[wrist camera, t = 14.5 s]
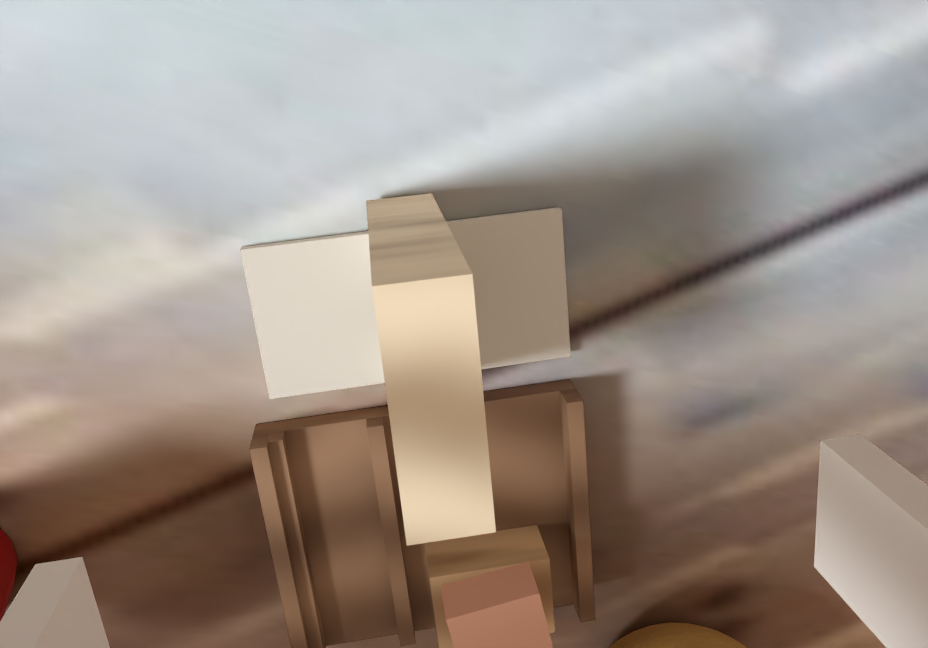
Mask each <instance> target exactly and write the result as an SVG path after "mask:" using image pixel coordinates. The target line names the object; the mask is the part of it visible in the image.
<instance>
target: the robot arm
mask: <svg viewBox="0 0 928 648" xmlns="http://www.w3.org/2000/svg"><path fill="white" fill-rule="evenodd" d="M814 567H815V568H816V569H817V571H818V572H819V573H820V574H821V575H822V576H823V577H824V578H825V580H826V581H827V582H828V583H829V584H830V585H831V586H832V587H833V589H834V590H835V591H836V592H837V593H838V594H839V595H840V596H841V598H842V599H843V600H844V601H845V602H846V603H847V604H848V605H849V607H850V608H851V609H852V610H853V611H854V612H855V613H856V614H857V615H858V617H859V618H860V619H861V620H862V621H863V622H864V623H865V624H866V626H867V627H868V628H869V629H870V630H871V631H872V632H873V633H874V635H875V636H876V637H877V638H878V639H879V640H880V641H881V642H882V644H883V645H884V646H885V647H886V648H928V485H926V484H925V483H924V482H923V481H921V480H920V479H919V478H917V477H916V476H915V475H913V474H912V473H911V472H909V471H908V470H907V469H905V468H904V467H903V466H901V465H900V464H899V463H897V462H896V461H895V460H894V459H892V458H891V457H890V456H888V455H887V454H886V453H884V452H883V451H882V450H880V449H879V448H878V447H876V446H875V445H874V444H872V443H871V442H870V441H869V440H867V439H866V438H865V437H863V436H862V435H861V434H857V435H850V436H844V437H838V438H831V439H825V440H820V459H819V479H818V498H817V518H816V537H815V557H814ZM0 648H110V647H109V643H108V640H107V637H106V633H105V630H104V627H103V623H102V620H101V617H100V614H99V610H98V607H97V604H96V600H95V597H94V594H93V590H92V587H91V584H90V581H89V577H88V574H87V571H86V567H85V564H84V561H83V557H78V558H72V559H65V560H59V561H53V562H46V563H40V564H35V566H34V567H33V569H32V570H31V572H30V574H29V575H28V577H27V579H26V580H25V582H24V584H23V585H22V587H21V588H20V590H19V592H18V593H17V595H16V597H15V598H14V600H13V601H12V603H11V605H10V606H9V608H8V610H7V611H6V613H5V615H4V616H3V618H2V619H1V621H0Z"/></svg>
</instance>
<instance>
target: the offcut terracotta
mask: <svg viewBox="0 0 928 648" xmlns="http://www.w3.org/2000/svg"><path fill="white" fill-rule="evenodd" d="M441 591H442V598H443V604H444V611H445V617H446V622H447V625H448V628H449V632H450V635H451V638H452V641H453V644H454V648H553V645H552V641H551V637H550V633H549V629H548V625H547V621H546V617H545V613H544V610H543V606H542V602H541V598H540V594H539V591H538V588H537V585H536V582H535V579H534V576H533V573H532V570H531V567H530V564H529V561H528V562H524V563H521V564H517V565H514V566H510V567H507V568H503V569H500V570H496V571H493V572H489V573H486V574H482V575H479V576H475V577H472V578H468V579H465V580H461V581H458V582H454V583H451V584H447V585H444V586H441Z"/></svg>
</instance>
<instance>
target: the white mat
mask: <svg viewBox="0 0 928 648" xmlns="http://www.w3.org/2000/svg"><path fill="white" fill-rule="evenodd" d="M446 222H447V224H448V226H449V228H450V230H451V232H452V234H453V236H454V238H455V240H456V242H457V244H458V246H459V248H460V250H461V252H462V254H463V256H464V258H465V260H466V262H467V264H468V266H469V268H470V270H471V272H472V274H473V285H474V296H475V307H476V318H477V329H478V340H479V351H480V362H481V369H486V368H493V367H500V366H507V365H515V364H522V363H529V362H536V361H543V360H550V359H557V358H564V357H571V353H570V336H569V319H568V303H567V286H566V269H565V253H564V236H563V219H562V209H561V208H559V207H556V208H548V209H540V210H532V211H524V212H516V213H508V214H500V215H492V216H484V217H476V218H468V219H460V220H452V221H446ZM240 252H241V257H242V262H243V267H244V272H245V277H246V282H247V287H248V292H249V297H250V302H251V307H252V312H253V317H254V323H255V328H256V333H257V338H258V343H259V348H260V353H261V358H262V363H263V368H264V373H265V378H266V383H267V388H268V393H269V398H270V399H274V398H281V397H288V396H295V395H302V394H309V393H317V392H324V391H331V390H338V389H345V388H352V387H359V386H366V385H373V384H380V383H385V381H384V373H383V366H382V359H381V351H380V344H379V336H378V329H377V322H376V314H375V307H374V299H373V292H372V282H371V266H370V250H369V234H368V231H364V232H356V233H348V234H340V235H333V236H325V237H317V238H309V239H301V240H293V241H285V242H277V243H269V244H261V245H253V246H245V247H242V248H241V249H240Z"/></svg>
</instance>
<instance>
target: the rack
mask: <svg viewBox="0 0 928 648" xmlns="http://www.w3.org/2000/svg"><path fill="white" fill-rule="evenodd" d="M483 395H484V406H485V417H486V428H487V439H488V450H489V461H490V472H491V483H492V494H493V505H494V516H495V527H496V531H502V530H508V529H515V528H521V527H527V526H534V525H537V527H538V529H539V532H540V535H541V537H542V540H543V543H544V545H545V548H546V551H547V553H548V556H549V559H550V571H551V585H552V598H553V608H555V607H561V606H567V605H573V604H574V606H575V609H576V611H577V614H578V616H579V619H580V622H586V621H592V620H595V605H594V587H593V569H592V551H591V533H590V515H589V497H588V479H587V461H586V443H585V425H584V407H583V400H582V398H581V397H580V395H579V393H578V392H577V390H576V389H575V387H574V386H573V384H572V382H571V381H570V379H568V380H561V381H554V382H547V383H540V384H533V385H526V386H519V387H512V388H505V389H498V390H491V391H484V392H483ZM249 450H250V455H251V460H252V465H253V469H254V474H255V479H256V483H257V488H258V493H259V498H260V502H261V507H262V512H263V516H264V521H265V526H266V531H267V535H268V540H269V545H270V549H271V554H272V559H273V564H274V568H275V573H276V578H277V582H278V587H279V592H280V597H281V601H282V606H283V611H284V615H285V620H286V625H287V630H288V634H289V639H290V644H291V648H326V646H328V645H334V644H340V643H346V642H352V641H358V640H364V639H370V638H376V637H382V636H388V635H394V634H399V639H400V645H401V646H405V645H411V644H416V643H415V633H414V631H417V630H423V629H429V628H435V627H436V623H435V615H434V608H433V601H432V593H431V586H430V579H429V571H428V564H427V557H426V549H425V543H422V544H415V545H408V546H407V544H406V537H405V529H404V522H403V514H402V507H401V500H400V492H399V485H398V477H397V470H396V462H395V455H394V448H393V440H392V433H391V425H390V418H389V411H388V405H387V406H380V407H373V408H366V409H359V410H352V411H345V412H338V413H331V414H324V415H317V416H311V417H304V418H297V419H290V420H283V421H276V422H269V423H262V424H256V426H255V430H254V434H253V438H252V441H251V445H250V449H249Z"/></svg>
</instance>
